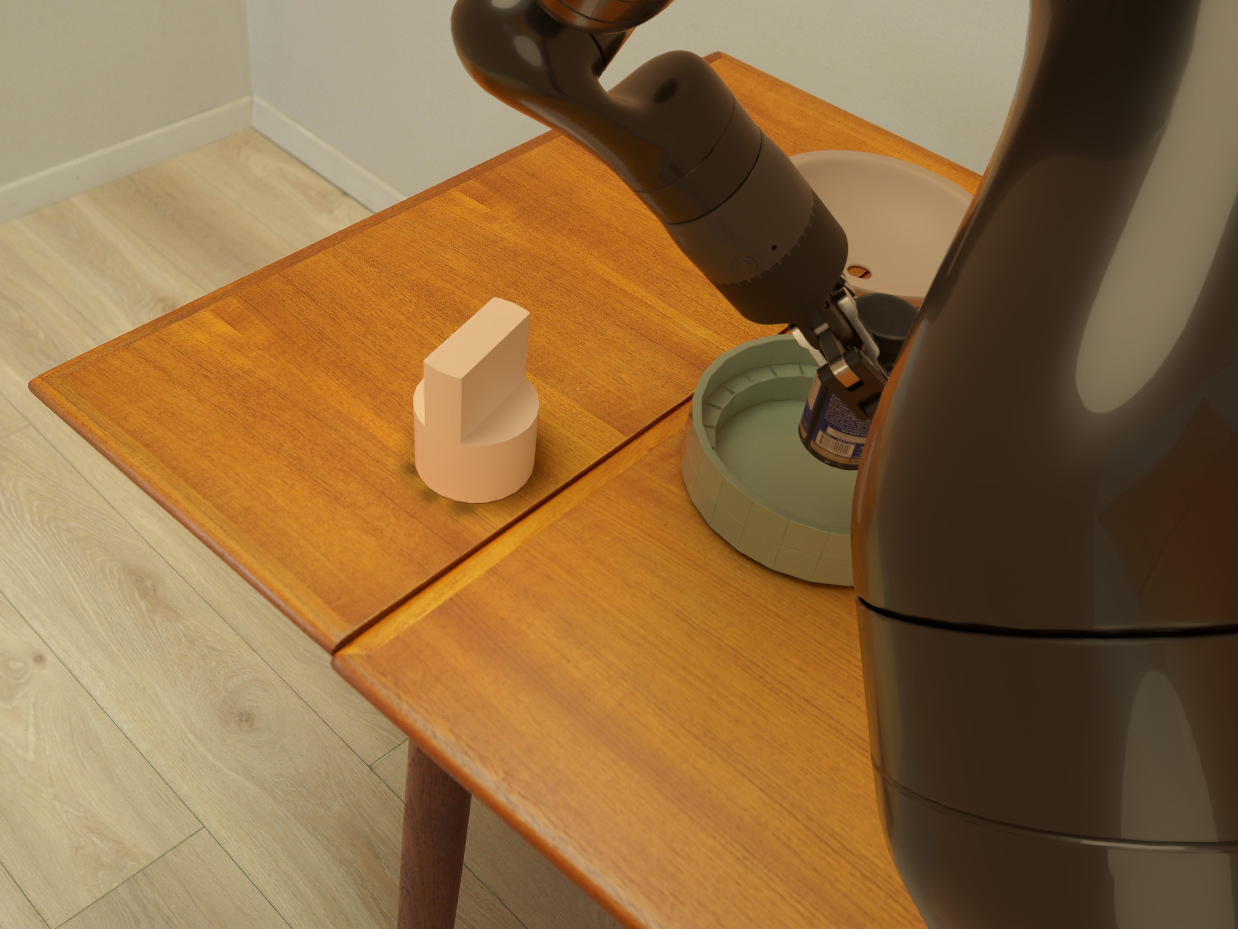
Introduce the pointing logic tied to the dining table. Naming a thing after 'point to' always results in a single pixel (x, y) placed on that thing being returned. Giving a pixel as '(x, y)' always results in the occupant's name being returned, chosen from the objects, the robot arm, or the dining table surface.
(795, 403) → the bowl
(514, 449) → the cylinder with rectangular tab
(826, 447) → the pill bottle
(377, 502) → the dining table surface
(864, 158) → the oval vessel sink
